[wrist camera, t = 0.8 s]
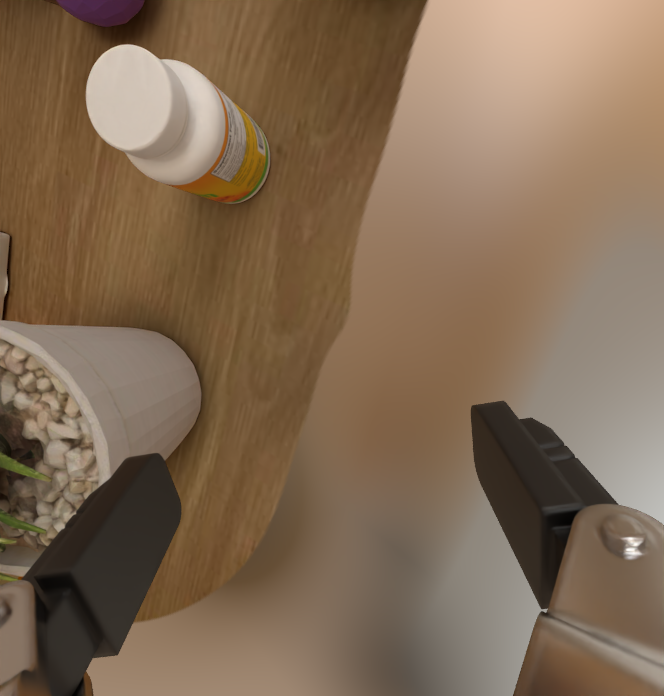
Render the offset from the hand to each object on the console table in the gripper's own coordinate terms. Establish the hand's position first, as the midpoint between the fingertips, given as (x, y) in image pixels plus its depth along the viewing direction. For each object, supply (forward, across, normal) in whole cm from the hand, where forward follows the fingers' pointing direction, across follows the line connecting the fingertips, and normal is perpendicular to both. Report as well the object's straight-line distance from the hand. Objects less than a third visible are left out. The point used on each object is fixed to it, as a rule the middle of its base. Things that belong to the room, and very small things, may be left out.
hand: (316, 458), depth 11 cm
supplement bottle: (+20, +5, -9) cm, 22 cm away
